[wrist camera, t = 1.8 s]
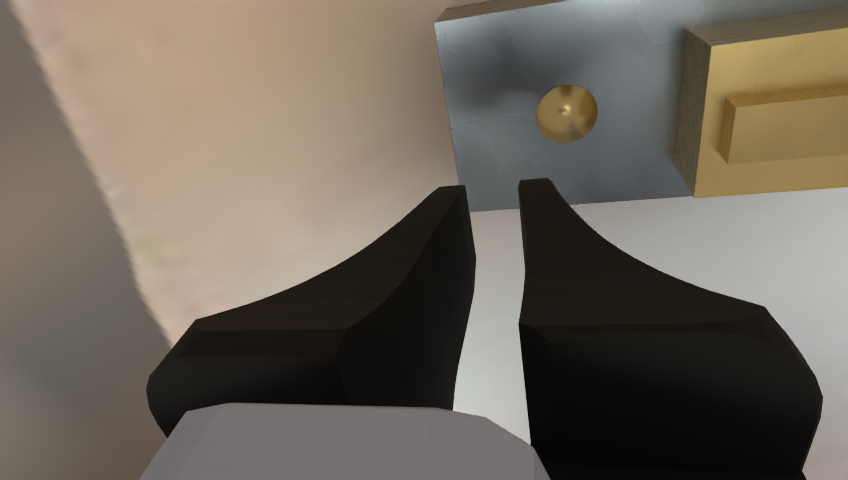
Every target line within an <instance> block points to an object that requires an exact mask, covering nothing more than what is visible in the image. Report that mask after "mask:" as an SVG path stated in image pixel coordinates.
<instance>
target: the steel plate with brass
mask: <svg viewBox="0 0 848 480" xmlns="http://www.w3.org/2000/svg"><path fill="white" fill-rule="evenodd" d="M843 5H848V0H495V1H489V2H483V3H478V4H472V5H466V6H460V7H454V8H449V9H446V10H445V11H444V12H443V13H442V15H441V16H440V17H439V18H438V19H437V20H436V21H435V22H434V26H435V32H436V38H437V45H438V51H439V58H440V64H441V71H442V77H443V84H444V90H445V96H446V103H447V109H448V116H449V122H450V129H451V135H452V141H453V148H454V154H455V161H456V167H457V174H458V180H459V185H465V186H466V193H467V200H468V207H469V212H475V211H489V210H503V209H517V208H520V205H519V194H518V187H519V181H520V180H526V179H538V178H549V179H550V180H551V181H552V182H553V184H554V185H555V187H556V189H557V190H558V192H559V193H560V194H561V196H562V197H563V198H564V200H565V201H566V202H567V203H568V204H569V205H573V204H587V203H601V202H615V201H629V200H642V199H656V198H670V197H684V196H693V195H692V194H691V192H690V190H689V189H688V187H687V185H686V184H685V182H684V180H683V179H682V177H681V175H680V173H679V172H678V170H677V168H676V167H675V165H674V156H675V145H676V134H677V123H678V111H679V100H680V89H681V77H682V66H683V55H684V44H685V32H686V28H693V27H699V26H706V25H713V24H720V23H727V22H734V21H741V20H747V19H754V18H761V17H768V16H775V15H782V14H788V13H795V12H802V11H809V10H816V9H823V8H830V7H836V6H843Z"/></svg>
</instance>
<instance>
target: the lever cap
mask: <svg viewBox="0 0 848 480" xmlns="http://www.w3.org/2000/svg"><path fill="white" fill-rule="evenodd" d="M674 165H675V167H676V168H677V170H678V172H679V173H680V175H681V177H682V179H683V180H684V182H685V184H686V185H687V187H688V189H689V190H690V192H691V194H692V195H693V197H694V198H699V197H714V196H728V195H742V194H756V193H770V192H784V191H798V190H812V189H826V188H840V187H848V5H843V6H836V7H830V8H823V9H816V10H809V11H802V12H795V13H788V14H782V15H775V16H768V17H761V18H754V19H747V20H741V21H734V22H727V23H720V24H713V25H706V26H699V27H693V28H686V32H685V44H684V55H683V66H682V77H681V89H680V100H679V111H678V123H677V134H676V145H675V156H674Z"/></svg>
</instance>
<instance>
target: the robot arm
mask: <svg viewBox="0 0 848 480" xmlns="http://www.w3.org/2000/svg"><path fill="white" fill-rule="evenodd" d="M518 194H519V205H520V216H521V228H522V239H523V250H524V262H525V281H524V292H523V300H522V306H521V313H520V318H519V333H520V342H521V352H522V362H523V371H524V381H525V390H526V400H527V410H528V419H529V429H530V439H531V446H530V445H529V444H527V443H526V442H525V441H523V440H521V439H520V438H518V437H516V436H515V435H513V434H512V433H510V432H508V431H507V430H505V429H504V428H502V427H500V426H499V425H497V424H495V423H494V422H492V421H491V420H489V419H487V418H486V417H481V416H476V415H471V414H466V413H461V412H456V411H453V401H454V391H455V382H456V376H457V370H458V365H459V360H460V355H461V351H462V346H463V341H464V337H465V332H466V328H467V323H468V318H469V313H470V309H471V304H472V299H473V294H474V284H475V268H476V254H475V247H474V240H473V234H472V227H471V220H470V213H469V207H468V200H467V193H466V186H465V185H456V186H444V187H439V188H437V189H436V190H435V191H433V192H432V193H431V194H430V195H429V196H428V197H427V198H425V199H424V200H423V201H422V202H421V203H420V204H419V205H418V206H417V207H415V208H414V209H413V210H412V211H411V212H410V213H409V214H408V215H406V216H405V217H404V218H403V219H402V220H401V221H399V222H398V223H397V224H396V225H394V226H393V227H392V228H391V229H389V230H388V231H387V232H386V233H384V234H383V235H382V236H380V237H379V238H378V239H377V240H375V241H374V242H373V243H371V244H370V245H368V246H367V247H365V248H364V249H362V250H361V251H359V252H358V253H356V254H355V255H353V256H351V257H350V258H348V259H347V260H345V261H343V262H342V263H340V264H338V265H336V266H335V267H333V268H331V269H329V270H327V271H325V272H323V273H321V274H319V275H317V276H315V277H313V278H311V279H309V280H307V281H305V282H303V283H301V284H298V285H296V286H294V287H291V288H289V289H287V290H284V291H282V292H279V293H277V294H274V295H272V296H269V297H266V298H264V299H261V300H258V301H255V302H253V303H250V304H247V305H244V306H240V307H237V308H234V309H230V310H227V311H224V312H221V313H217V314H214V315H211V316H207V317H204V318H200V319H196V320H195V321H194V322H193V323H192V325H191V326H190V327H189V328H188V330H187V331H186V332H185V333H184V335H183V336H182V337H181V338H180V339H179V341H178V342H177V343H176V344H175V346H174V347H173V348H172V349H171V350H170V352H169V353H168V354H167V355H166V357H165V358H164V359H163V360H162V362H161V363H160V364H159V365H158V367H157V368H156V369H155V370H154V372H153V373H152V374H151V375H150V376H149V380H148V384H147V388H146V392H147V398H148V404H149V408H150V410H151V412H152V414H153V416H154V418H155V420H156V422H157V424H158V425H159V427H160V428H161V430H162V431H163V432H164V434H165V435H166V437H167V438H168V439H167V440H166V441H165V443H164V445H163V446H162V447H161V449H160V450H159V452H158V453H157V454H156V456H155V457H154V459H153V460H152V462H151V463H150V465H149V466H148V468H147V469H146V470H145V472H144V473H143V475H142V476H141V478H140V479H139V480H806V478H805V476H804V474H803V472H802V469H803V466H804V463H805V461H806V458H807V455H808V452H809V449H810V447H811V444H812V441H813V438H814V435H815V432H816V430H817V427H818V424H819V421H820V418H821V410H822V402H823V396H822V393H821V390H820V387H819V385H818V382H817V379H816V376H815V375H814V373H813V372H812V370H811V369H810V367H809V365H808V364H807V362H806V361H805V359H804V357H803V356H802V354H801V353H800V351H799V350H798V348H797V347H796V346H795V344H794V343H793V342H792V340H791V339H790V338H789V336H788V335H787V333H786V332H785V331H784V330H783V329H782V328H781V326H780V325H779V324H778V323H777V322H776V321H775V319H774V318H773V317H772V316H771V315H770V313H769V312H768V310H767V309H766V308H765V307H764V306H760V305H757V304H754V303H750V302H747V301H743V300H740V299H736V298H733V297H729V296H726V295H723V294H719V293H716V292H712V291H709V290H706V289H703V288H700V287H698V286H695V285H693V284H690V283H687V282H685V281H682V280H680V279H677V278H675V277H672V276H670V275H668V274H665V273H663V272H661V271H659V270H657V269H655V268H653V267H651V266H649V265H647V264H645V263H643V262H641V261H639V260H637V259H635V258H634V257H632V256H630V255H628V254H627V253H625V252H623V251H622V250H620V249H619V248H617V247H616V246H614V245H613V244H611V243H610V242H608V241H607V240H606V239H604V238H603V237H602V236H600V235H599V234H598V233H597V232H596V231H595V230H593V229H592V228H591V227H590V226H589V225H588V224H587V223H586V222H585V221H584V220H583V219H582V218H581V217H580V216H579V215H578V214H577V213H576V212H575V211H574V210H573V209H572V208H571V207H570V206H569V204H568V203H567V202H566V201H565V200H564V198H563V197H562V196H561V194H560V193H559V192H558V190H557V189H556V187H555V185H554V184H553V182H552V181H551V180H550V179H549V178H538V179H526V180H520V181H519V187H518Z"/></svg>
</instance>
